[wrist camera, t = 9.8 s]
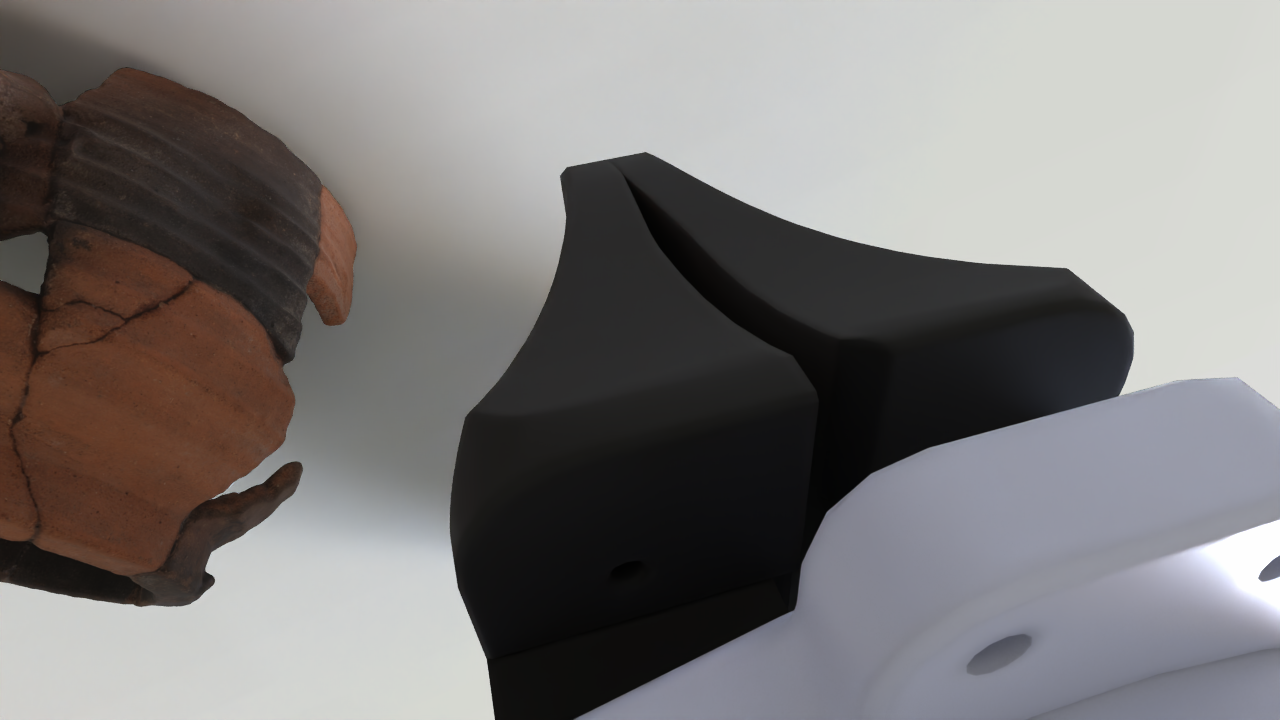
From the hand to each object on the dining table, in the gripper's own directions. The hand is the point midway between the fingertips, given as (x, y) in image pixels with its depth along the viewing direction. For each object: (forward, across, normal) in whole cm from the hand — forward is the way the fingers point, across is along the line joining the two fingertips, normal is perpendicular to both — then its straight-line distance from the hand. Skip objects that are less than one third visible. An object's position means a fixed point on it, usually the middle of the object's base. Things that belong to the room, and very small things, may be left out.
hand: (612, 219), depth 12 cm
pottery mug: (+6, +10, +2) cm, 12 cm away
